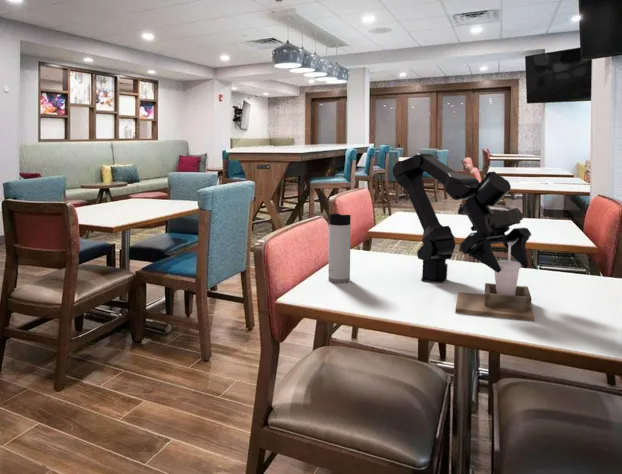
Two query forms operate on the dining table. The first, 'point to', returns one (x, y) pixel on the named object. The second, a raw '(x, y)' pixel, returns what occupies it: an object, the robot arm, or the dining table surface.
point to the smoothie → (507, 276)
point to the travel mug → (339, 248)
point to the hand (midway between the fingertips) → (513, 269)
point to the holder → (497, 303)
